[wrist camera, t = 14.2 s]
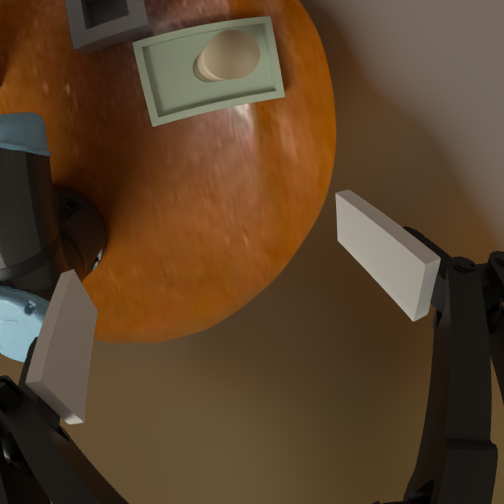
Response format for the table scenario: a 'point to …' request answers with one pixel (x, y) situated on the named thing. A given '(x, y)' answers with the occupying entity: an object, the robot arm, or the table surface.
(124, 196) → the table surface
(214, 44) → the dowel
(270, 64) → the tray
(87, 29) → the square block with hole
